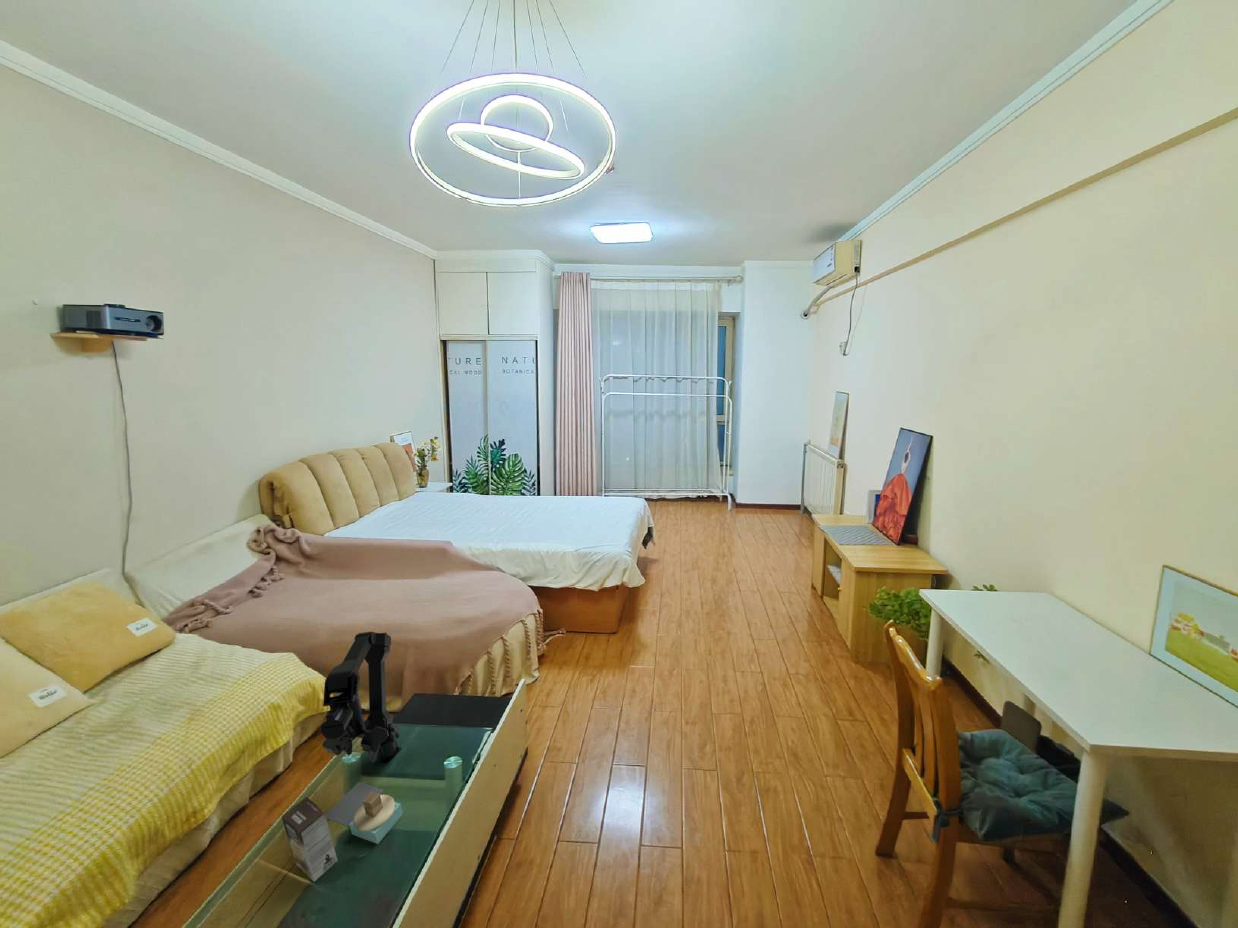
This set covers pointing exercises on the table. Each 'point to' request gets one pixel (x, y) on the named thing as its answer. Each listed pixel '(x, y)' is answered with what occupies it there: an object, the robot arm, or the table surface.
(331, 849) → the coffee box
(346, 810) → the mat
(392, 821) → the open box
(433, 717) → the table surface
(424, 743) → the table surface
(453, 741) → the table surface
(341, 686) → the robot arm
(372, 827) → the lid
